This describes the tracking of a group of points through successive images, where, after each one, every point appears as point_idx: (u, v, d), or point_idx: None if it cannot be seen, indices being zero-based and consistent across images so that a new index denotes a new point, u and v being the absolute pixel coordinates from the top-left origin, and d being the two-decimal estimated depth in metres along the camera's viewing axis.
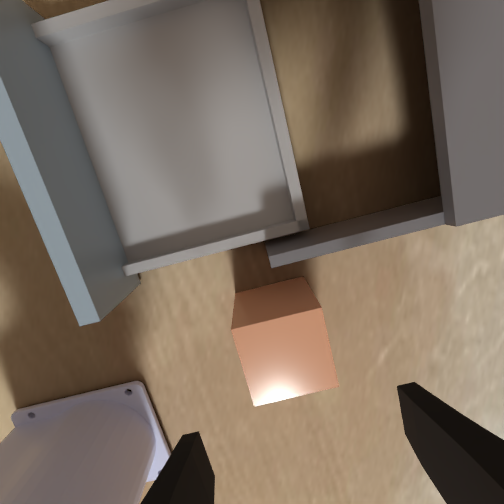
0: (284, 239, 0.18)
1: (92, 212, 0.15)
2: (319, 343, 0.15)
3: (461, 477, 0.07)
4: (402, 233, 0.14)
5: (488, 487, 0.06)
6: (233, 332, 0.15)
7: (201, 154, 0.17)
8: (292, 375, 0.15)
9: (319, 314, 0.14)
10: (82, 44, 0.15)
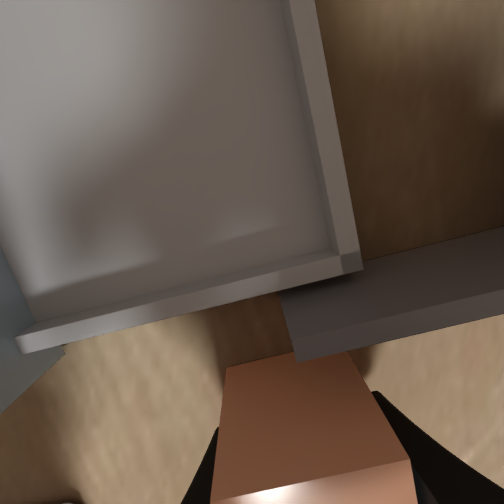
0: (313, 284, 0.10)
1: None
2: None
3: None
4: None
5: (428, 499, 0.06)
6: None
7: (159, 129, 0.09)
8: None
9: (404, 473, 0.07)
10: None
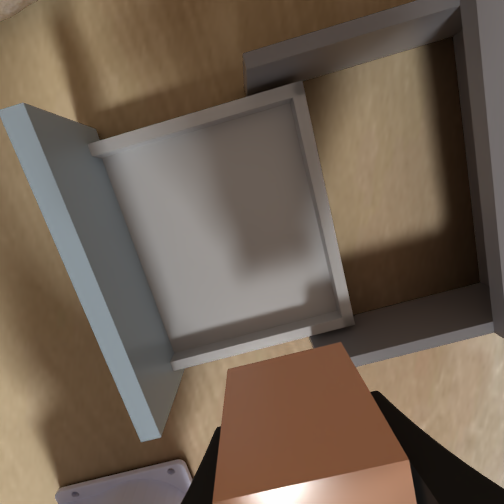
0: None
1: (145, 318, 0.16)
2: None
3: None
4: (452, 341, 0.15)
5: (429, 500, 0.06)
6: None
7: (247, 253, 0.17)
8: None
9: (403, 473, 0.07)
10: (134, 155, 0.16)
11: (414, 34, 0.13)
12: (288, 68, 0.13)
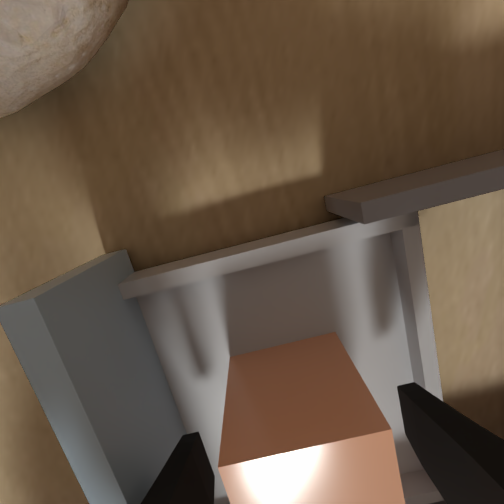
0: None
1: None
2: (384, 489, 0.08)
3: (461, 477, 0.07)
4: None
5: (488, 487, 0.06)
6: (222, 472, 0.08)
7: None
8: None
9: (387, 441, 0.07)
10: (176, 287, 0.12)
11: None
12: None
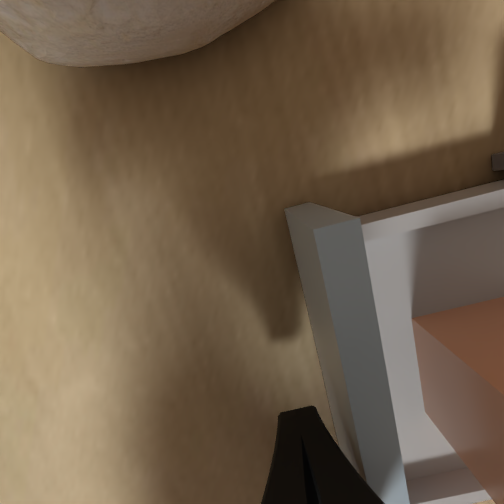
0: None
1: None
2: None
3: None
4: None
5: None
6: None
7: None
8: None
9: None
10: (367, 241, 0.11)
11: None
12: None
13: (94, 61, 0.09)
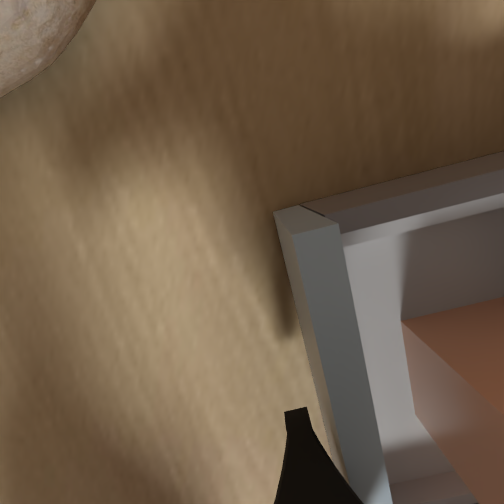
0: None
1: None
2: None
3: None
4: None
5: None
6: None
7: None
8: None
9: None
10: (355, 244, 0.11)
11: None
12: None
13: None
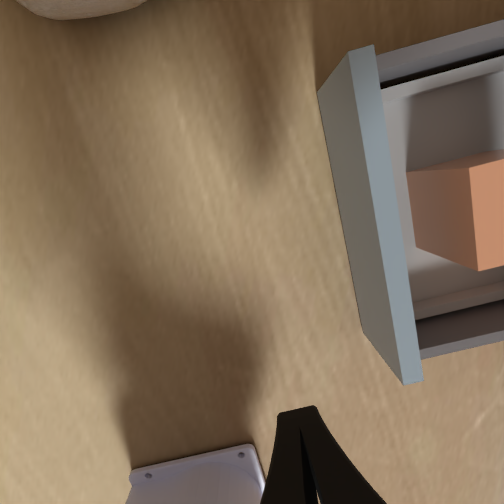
0: None
1: None
2: None
3: None
4: None
5: None
6: (470, 172, 0.12)
7: None
8: None
9: None
10: None
11: None
12: (395, 72, 0.14)
13: (68, 14, 0.14)
